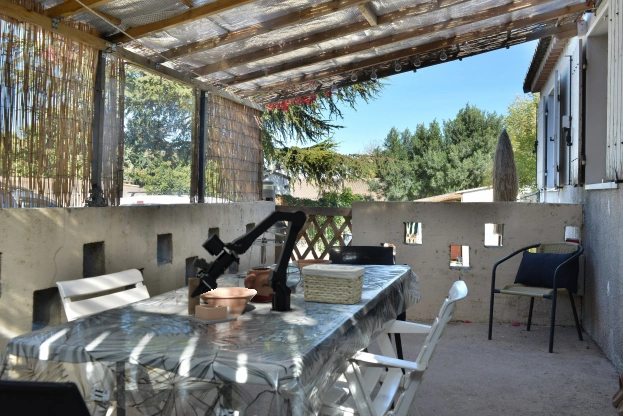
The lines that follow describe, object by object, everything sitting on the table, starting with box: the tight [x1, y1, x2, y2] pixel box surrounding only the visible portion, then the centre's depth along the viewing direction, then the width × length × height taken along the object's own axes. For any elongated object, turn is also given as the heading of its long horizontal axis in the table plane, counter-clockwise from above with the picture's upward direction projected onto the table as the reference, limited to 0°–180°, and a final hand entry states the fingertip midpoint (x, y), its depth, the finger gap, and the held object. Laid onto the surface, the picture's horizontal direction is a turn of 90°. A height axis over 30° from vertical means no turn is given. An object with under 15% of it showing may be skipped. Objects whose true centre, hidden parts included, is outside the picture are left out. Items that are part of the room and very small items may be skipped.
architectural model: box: [234, 273, 248, 288], centre depth 286 cm, size 20×25×10 cm
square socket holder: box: [185, 303, 238, 326], centre depth 213 cm, size 13×13×5 cm
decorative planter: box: [244, 267, 275, 303], centre depth 252 cm, size 20×12×14 cm, turn 152°
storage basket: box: [301, 263, 366, 305], centre depth 257 cm, size 24×16×15 cm
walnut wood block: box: [187, 277, 201, 316], centre depth 224 cm, size 4×4×13 cm
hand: (190, 295), depth 223 cm, fingers open, 9 cm apart
